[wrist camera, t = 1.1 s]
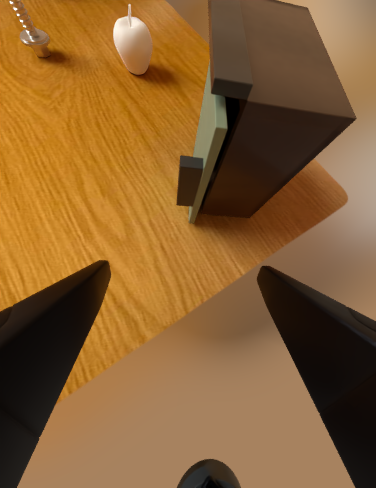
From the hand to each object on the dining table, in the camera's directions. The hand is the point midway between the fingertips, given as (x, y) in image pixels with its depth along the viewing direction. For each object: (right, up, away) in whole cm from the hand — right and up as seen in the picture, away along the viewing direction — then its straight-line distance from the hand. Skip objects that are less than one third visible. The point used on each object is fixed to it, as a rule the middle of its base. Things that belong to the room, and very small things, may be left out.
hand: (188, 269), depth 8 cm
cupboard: (+5, +14, +18) cm, 23 cm away
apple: (-11, +39, +25) cm, 47 cm away
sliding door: (0, +9, +16) cm, 18 cm away
